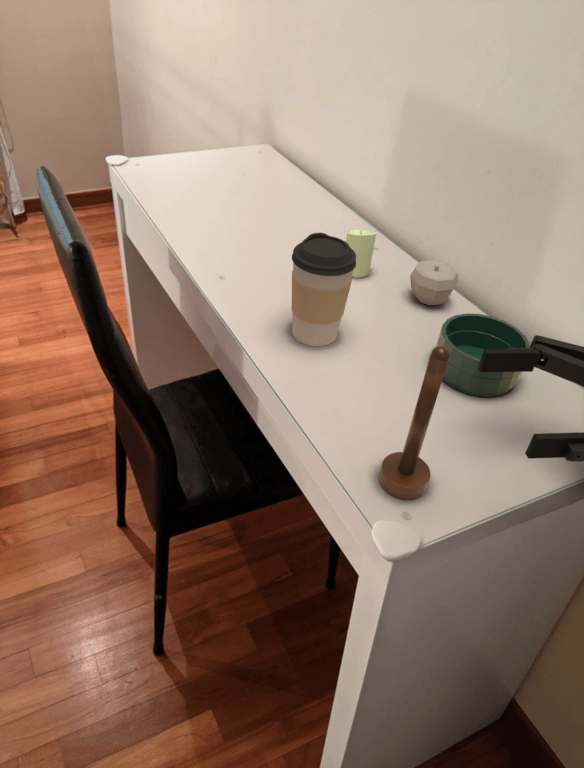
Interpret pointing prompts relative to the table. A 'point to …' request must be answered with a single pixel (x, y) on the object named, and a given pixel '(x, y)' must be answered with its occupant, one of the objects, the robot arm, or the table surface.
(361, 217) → the table surface
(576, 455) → the robot arm
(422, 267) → the beige faceted lump
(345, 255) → the coffee cup
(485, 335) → the bowl
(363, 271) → the candle
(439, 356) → the paper towel holder
